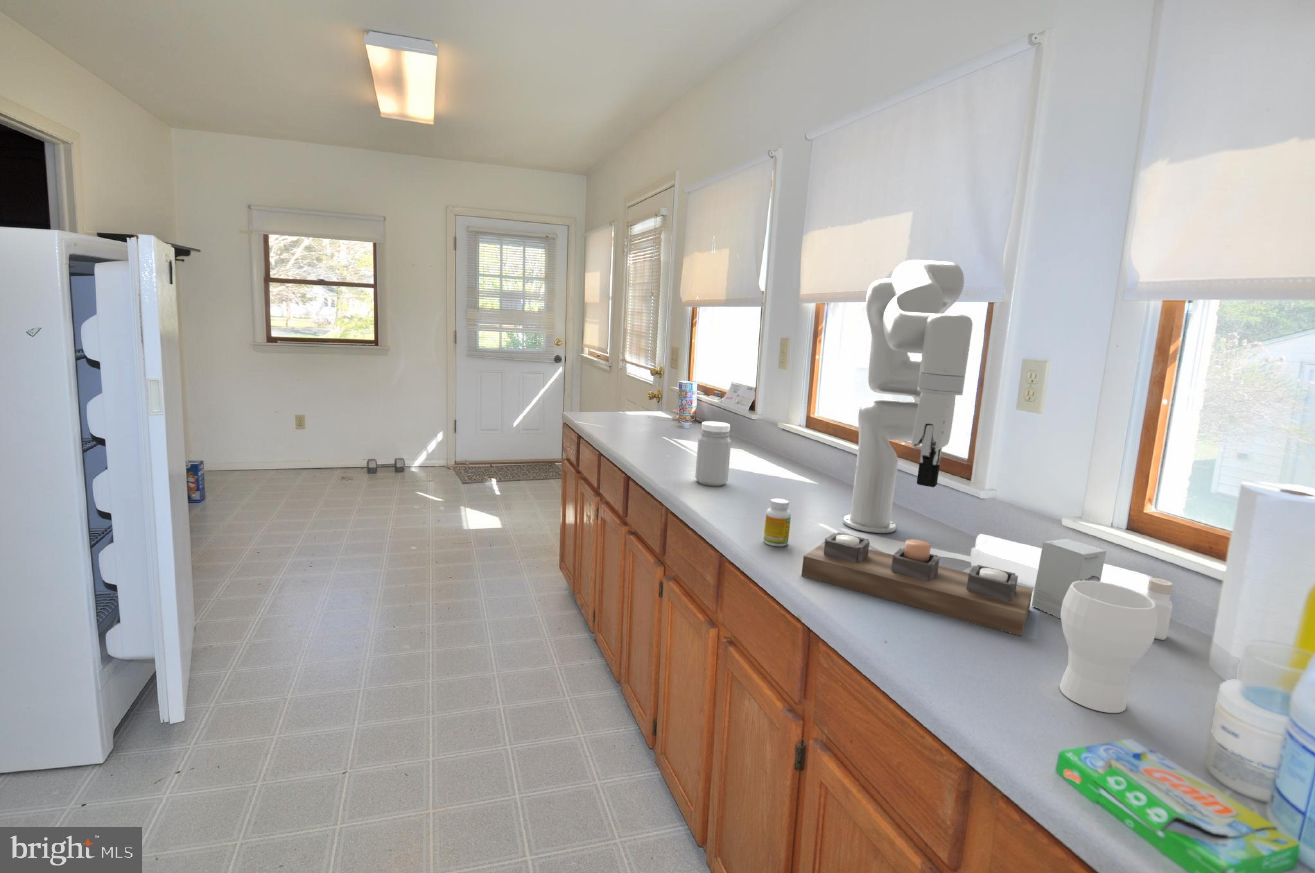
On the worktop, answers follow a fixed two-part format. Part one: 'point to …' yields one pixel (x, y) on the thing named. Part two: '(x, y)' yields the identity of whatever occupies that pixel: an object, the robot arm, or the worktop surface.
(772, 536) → the supplement bottle
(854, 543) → the off-white plunger
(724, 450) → the jar
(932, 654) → the worktop surface
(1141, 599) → the cup
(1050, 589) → the supplement box
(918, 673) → the worktop surface
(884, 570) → the button board
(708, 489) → the worktop surface
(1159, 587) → the pepper shaker
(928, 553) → the terracotta plunger
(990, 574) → the off-white plunger
